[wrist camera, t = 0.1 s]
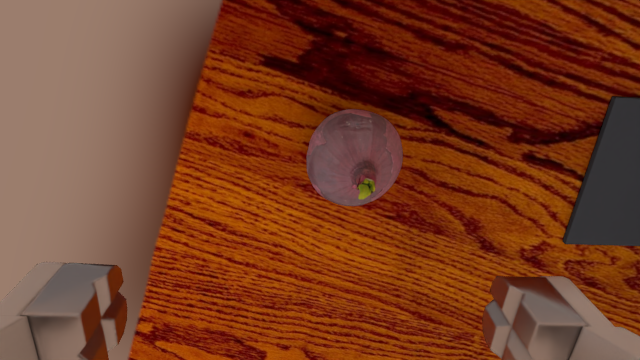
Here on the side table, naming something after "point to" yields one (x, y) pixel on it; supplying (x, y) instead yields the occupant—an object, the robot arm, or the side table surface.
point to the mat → (611, 182)
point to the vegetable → (354, 157)
